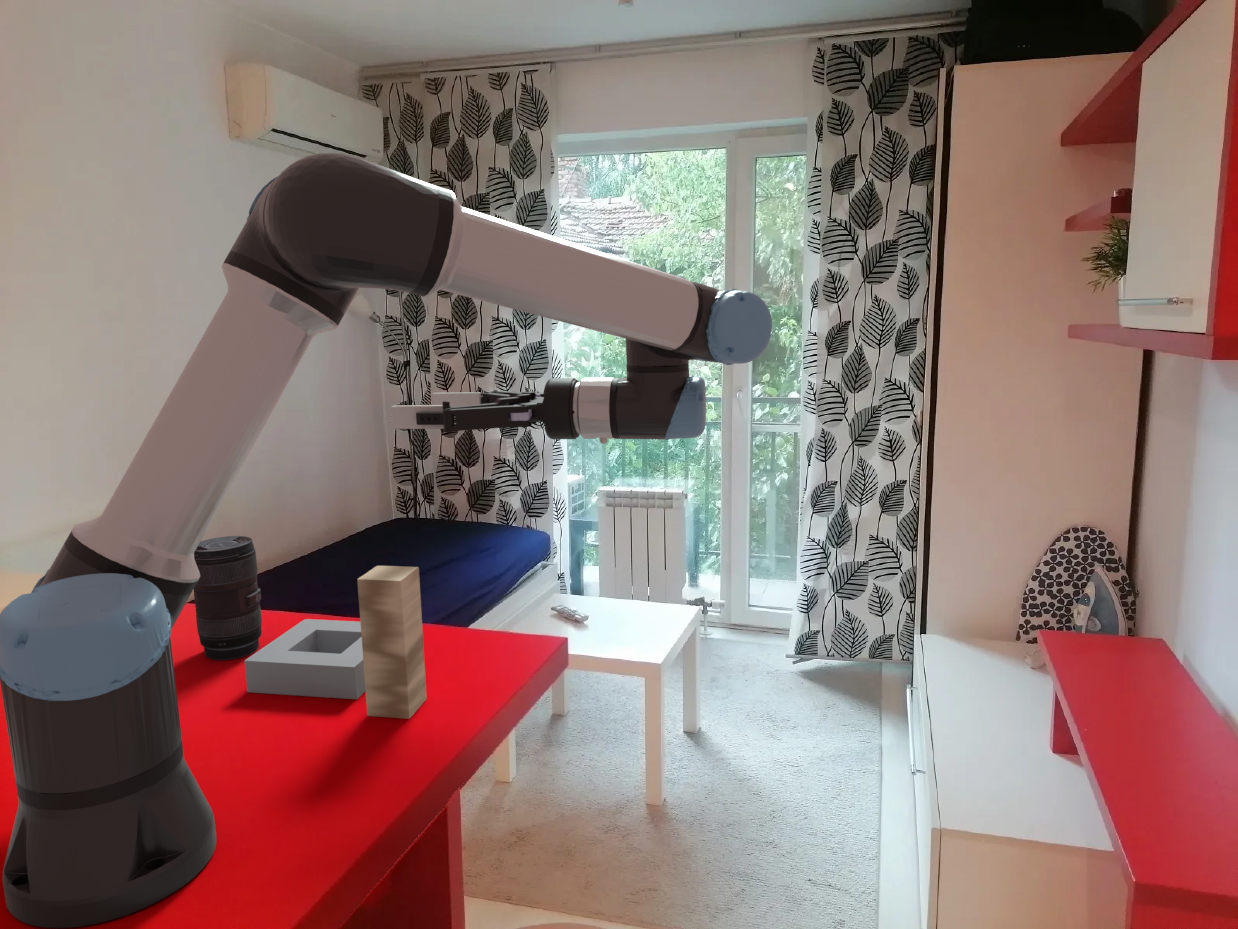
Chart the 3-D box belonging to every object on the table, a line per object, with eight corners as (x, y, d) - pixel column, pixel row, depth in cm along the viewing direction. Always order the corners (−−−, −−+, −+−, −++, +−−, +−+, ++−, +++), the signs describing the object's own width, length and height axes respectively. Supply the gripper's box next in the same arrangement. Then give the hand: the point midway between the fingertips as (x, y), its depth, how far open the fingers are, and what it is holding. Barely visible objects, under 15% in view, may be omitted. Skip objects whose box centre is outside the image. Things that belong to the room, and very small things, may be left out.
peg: (426, 698, 102) (418, 567, 99) (409, 718, 97) (400, 580, 95) (386, 696, 103) (377, 565, 100) (367, 715, 98) (357, 579, 95)
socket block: (405, 652, 116) (403, 623, 115) (356, 699, 102) (354, 667, 102) (307, 647, 118) (305, 619, 118) (247, 692, 105) (244, 660, 104)
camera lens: (246, 634, 123) (236, 531, 121) (276, 648, 118) (266, 540, 115) (188, 652, 117) (176, 544, 115) (216, 667, 112) (204, 554, 109)
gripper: (558, 457, 96) (375, 456, 99) (597, 424, 121) (449, 424, 124) (556, 389, 95) (370, 390, 98) (596, 369, 119) (446, 371, 122)
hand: (414, 409), depth 111 cm, fingers open, 13 cm apart
